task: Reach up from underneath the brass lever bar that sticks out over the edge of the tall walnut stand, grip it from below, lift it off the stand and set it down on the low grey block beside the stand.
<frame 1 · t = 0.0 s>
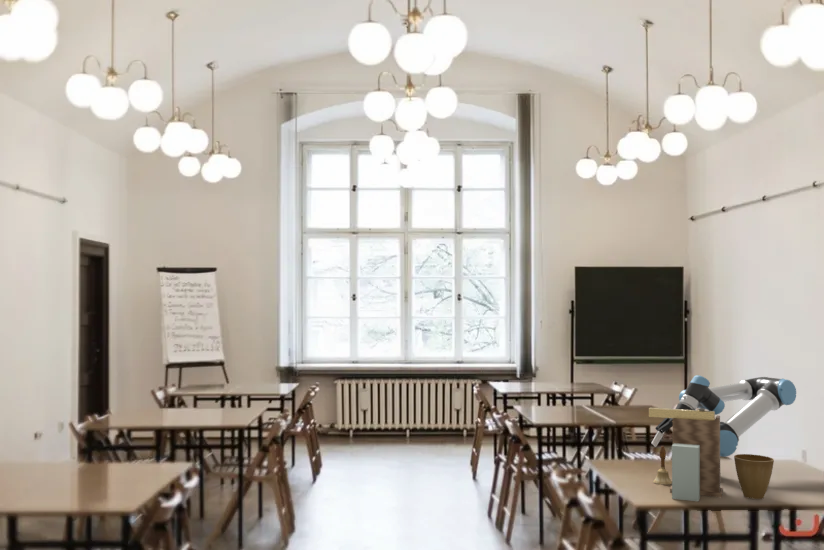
hand: (663, 447, 347), 15 cm above the table, tool tilted 35°, fingers open, 13 cm apart
hand bell: (662, 483, 347), on the table
plant pot: (754, 497, 322), on the table
brass bar: (681, 418, 334), point 30 cm above the table, touching walnut stand
grey block: (686, 498, 318), on the table
walnut stand: (696, 491, 330), on the table
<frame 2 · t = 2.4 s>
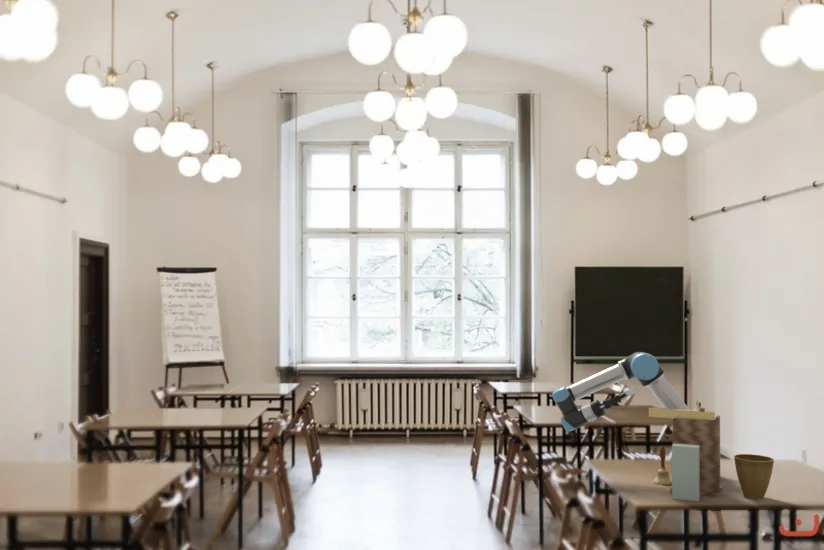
hand: (635, 389, 354), 40 cm above the table, tool pointing upward, fingers open, 13 cm apart
nothing on the table moved.
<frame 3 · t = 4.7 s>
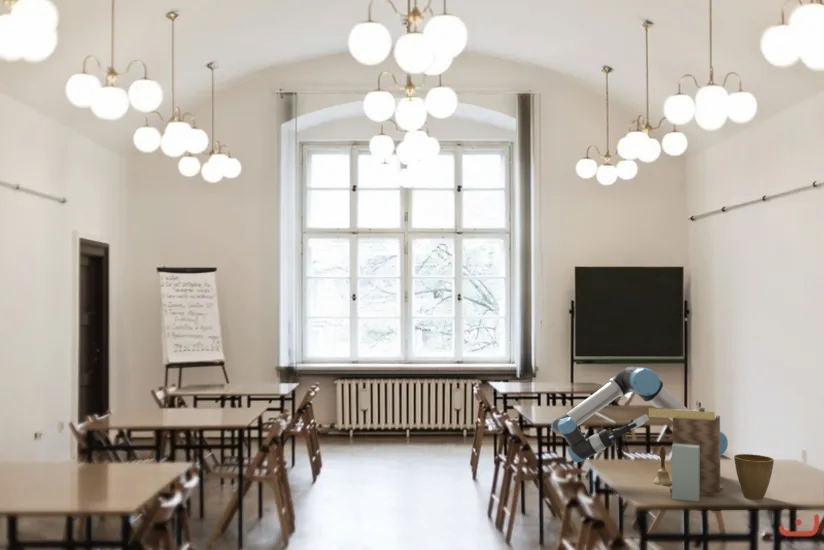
hand: (645, 418, 339), 29 cm above the table, tool pointing upward, fingers open, 13 cm apart
nothing on the table moved.
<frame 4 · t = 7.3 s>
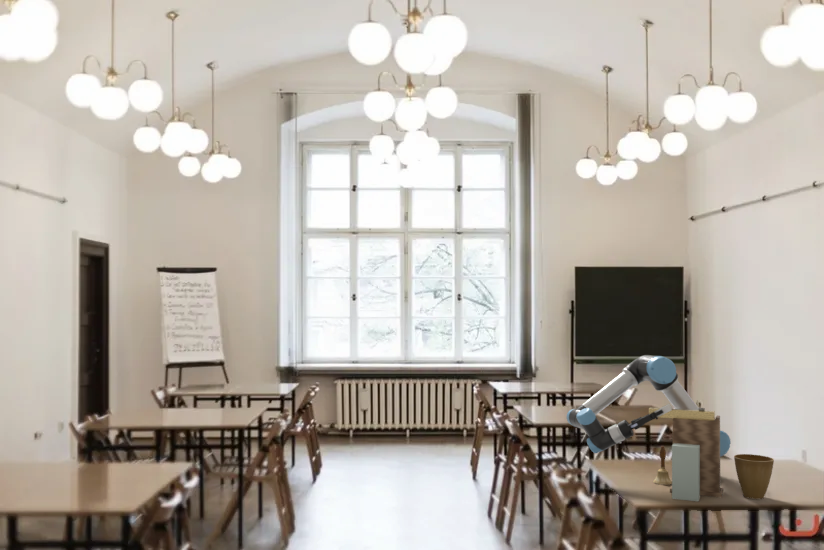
hand: (670, 406, 336), 35 cm above the table, tool pointing upward, fingers closed on brass bar, 3 cm apart
brass bar: (681, 418, 334), point 30 cm above the table, touching gripper, walnut stand
everything else where it was.
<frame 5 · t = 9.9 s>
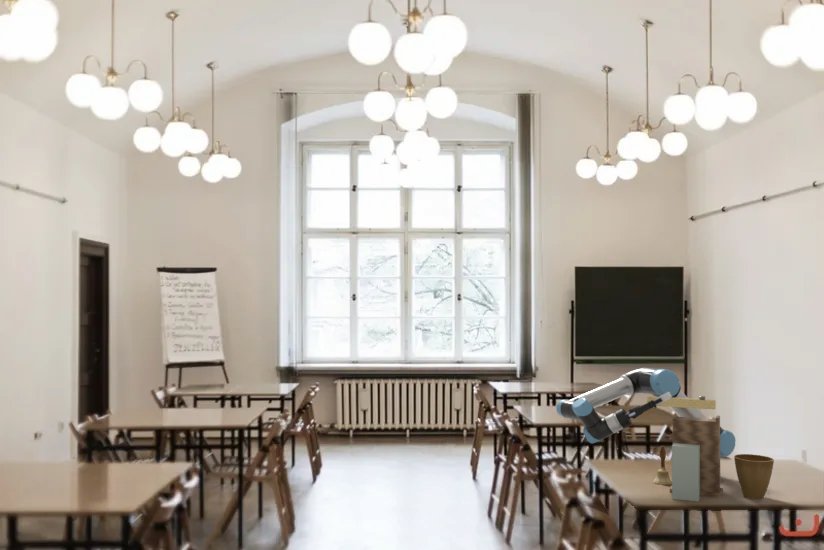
hand: (669, 395, 323), 41 cm above the table, tool pointing upward, fingers closed on brass bar, 3 cm apart
brass bar: (681, 406, 321), point 36 cm above the table, touching gripper
everything else where it was.
when the fingers open (27 cm above the table, at t = 12.7 s): brass bar drops 2 cm, resting on grey block.
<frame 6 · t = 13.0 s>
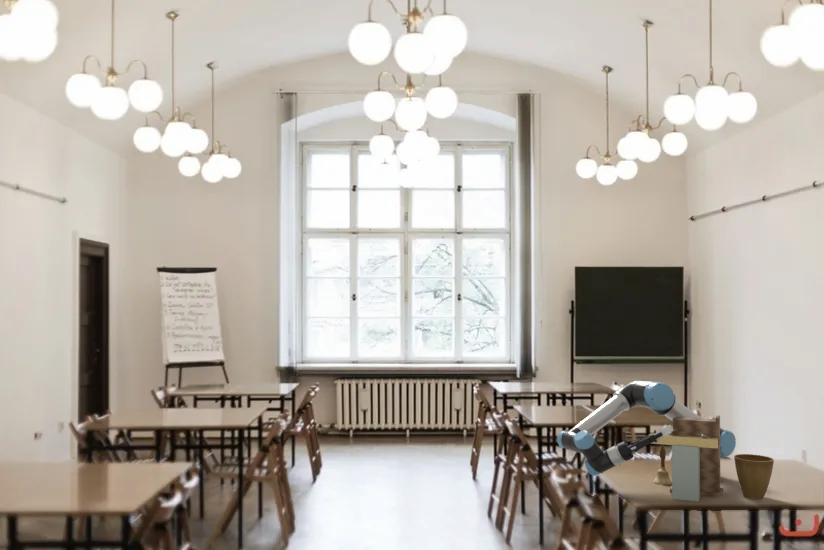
hand: (670, 428, 322), 27 cm above the table, tool pointing upward, fingers open, 7 cm apart
brass bar: (683, 445, 320), point 21 cm above the table, touching grey block
everything else where it was.
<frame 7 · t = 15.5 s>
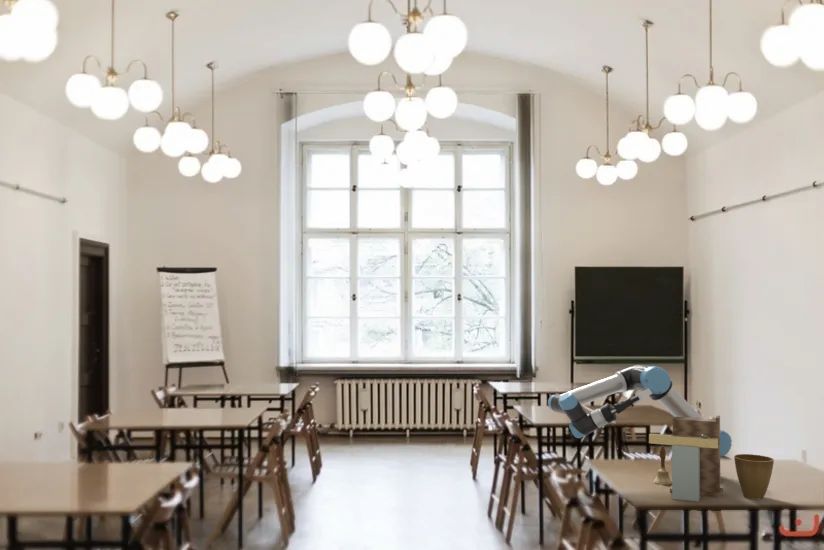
hand: (648, 392, 332), 41 cm above the table, tool pointing upward, fingers open, 13 cm apart
nothing on the table moved.
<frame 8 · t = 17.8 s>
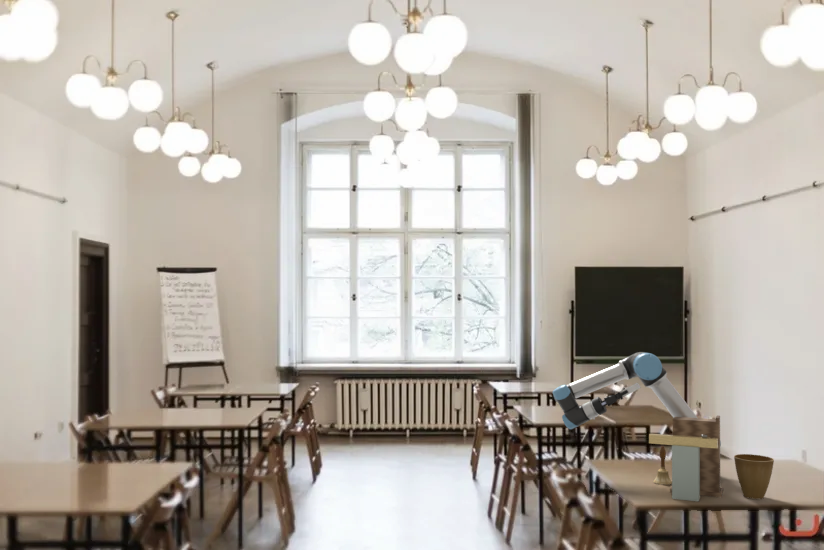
hand: (637, 386, 351), 42 cm above the table, tool pointing upward, fingers open, 13 cm apart
nothing on the table moved.
at the end: brass bar inside the target area on the grey block (1.1 cm from its centre), point 21.0 cm above the grey block's base; brass bar touching grey block; the gripper is holding nothing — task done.
